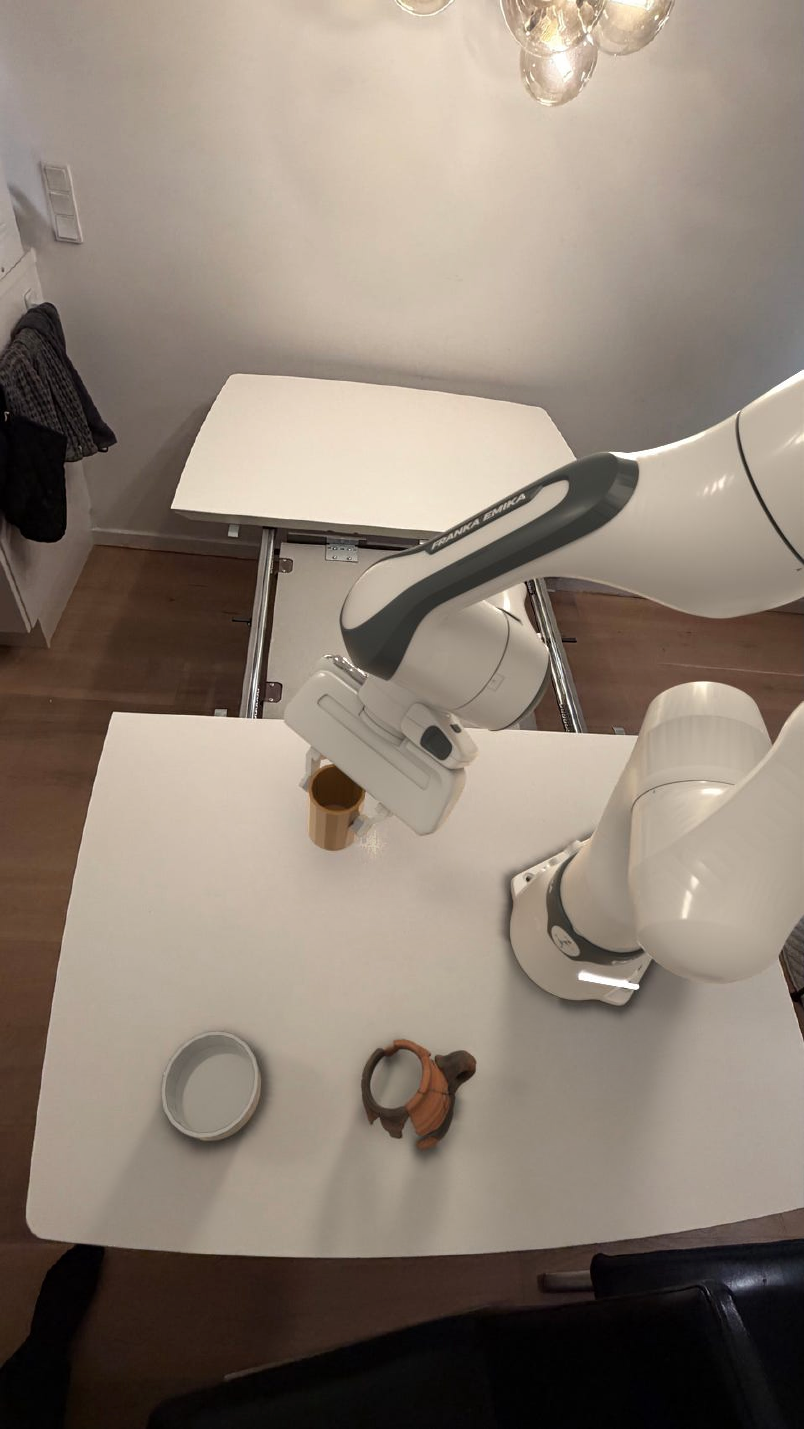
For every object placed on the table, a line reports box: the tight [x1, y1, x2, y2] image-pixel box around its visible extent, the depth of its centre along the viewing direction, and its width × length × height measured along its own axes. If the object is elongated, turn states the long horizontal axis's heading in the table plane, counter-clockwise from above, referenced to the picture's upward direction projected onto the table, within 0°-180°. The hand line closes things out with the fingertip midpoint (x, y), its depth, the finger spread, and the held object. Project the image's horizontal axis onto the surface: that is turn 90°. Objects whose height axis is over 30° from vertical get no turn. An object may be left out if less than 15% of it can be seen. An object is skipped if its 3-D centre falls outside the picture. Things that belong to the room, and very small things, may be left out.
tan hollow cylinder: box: [306, 763, 367, 852], centre depth 70 cm, size 6×6×9 cm
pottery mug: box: [360, 1038, 477, 1151], centre depth 68 cm, size 12×10×8 cm
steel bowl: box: [160, 1030, 262, 1142], centre depth 65 cm, size 9×9×6 cm
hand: (331, 811), depth 69 cm, fingers closed on tan hollow cylinder, 6 cm apart
